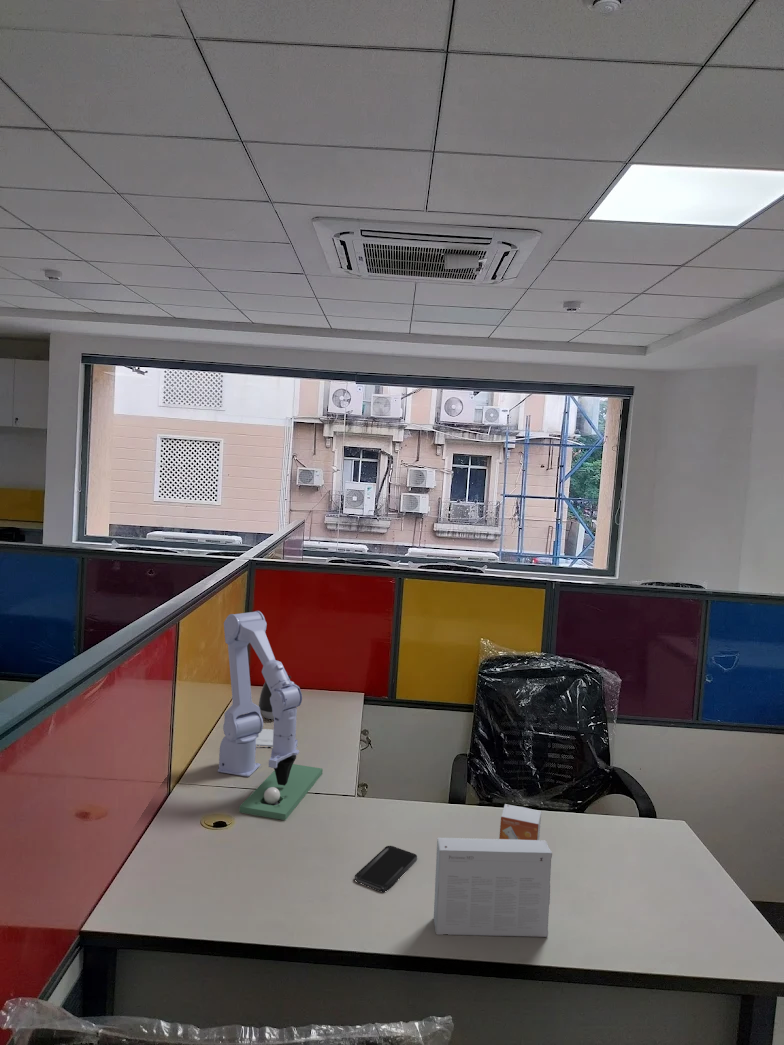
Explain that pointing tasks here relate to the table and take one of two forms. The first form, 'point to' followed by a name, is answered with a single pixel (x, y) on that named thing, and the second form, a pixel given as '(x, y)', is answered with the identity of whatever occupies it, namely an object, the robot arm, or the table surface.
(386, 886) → the phone
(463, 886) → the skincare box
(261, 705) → the pump dispenser
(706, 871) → the table surface
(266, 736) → the external hard drive
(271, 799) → the ball
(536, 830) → the small box
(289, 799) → the putting deck
